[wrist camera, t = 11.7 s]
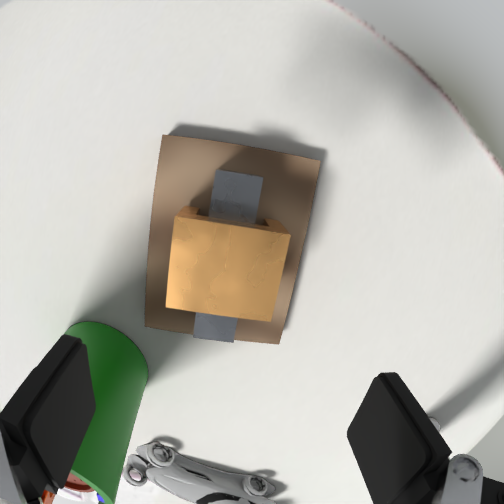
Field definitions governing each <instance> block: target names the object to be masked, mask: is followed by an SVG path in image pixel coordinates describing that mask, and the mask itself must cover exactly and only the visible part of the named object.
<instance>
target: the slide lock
mask: <svg viewBox="0 0 504 504" xmlns="http://www.w3.org/2000/svg"><path fill="white" fill-rule="evenodd" d="M199 210H200V208H198V207H192V206H184V207H183V208H182V209H181V210H180V211H179V212H178V213H177V215H176V216H175V218H174V226H173V235H172V243H171V253H170V262H169V273H168V284H167V296H166V307H168V308H174V309H180V310H186V311H193V312H199V313H206V314H213V315H220V316H228V317H235V318H243V319H251V320H259V321H268V322H271V319H272V315H273V311H274V307H275V302H276V298H277V294H278V290H279V285H280V281H281V277H282V272H283V268H284V263H285V259H286V254H287V250H288V245H289V241H290V236H291V235H290V233H289V232H288V231H287V230H286V229H285V227H284V226H283V225H282V224H281V223H280V221H278V220H272V219H267V218H264V222H263V225H257V224H251V223H245V222H239V221H232V220H226V219H220V218H213V217H207V216H201V215H199Z"/></svg>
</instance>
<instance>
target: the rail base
mask: <svg viewBox="0 0 504 504" xmlns="http://www.w3.org/2000/svg"><path fill="white" fill-rule="evenodd" d="M320 162H321V161H318V160H314V159H309V158H305V157H300V156H296V155H291V154H286V153H281V152H276V151H271V150H266V149H261V148H255V147H249V146H244V145H238V144H231V143H225V142H218V141H212V140H204V139H197V138H189V137H181V136H172V135H162V141H161V147H160V154H159V160H158V167H157V174H156V181H155V189H154V197H153V205H152V214H151V224H150V234H149V246H148V260H147V275H146V296H145V327H150V328H156V329H161V330H167V331H174V332H180V333H186V334H194V325H195V316H196V312H193V311H186V310H180V309H174V308H168V307H166V296H167V284H168V273H169V262H170V253H171V243H172V235H173V226H174V218H175V216H176V215H177V213H178V212H179V211H180V210H181V209H182V208H183V207H184V206H192V207H198V208H200V210H199V215H201V216H207V217H208V216H209V209H210V203H211V196H212V190H213V184H214V178H215V172H216V169H224V170H230V171H236V172H243V173H249V174H254V175H259V176H261V177H263V183H262V188H261V194H260V199H259V205H258V210H257V216H256V221H255V224H257V225H263V222H264V218H267V219H272V220H278V221H280V223H281V224H282V225H283V226H284V227H285V229H286V230H287V231H288V232H289V233H290V235H291V236H290V241H289V245H288V250H287V254H286V259H285V263H284V268H283V272H282V277H281V281H280V285H279V290H278V294H277V298H276V302H275V307H274V311H273V315H272V319H271V322H268V321H259V320H251V319H243V318H238V320H237V325H236V331H235V336H234V340H240V341H249V342H259V343H269V344H279V343H280V339H281V335H282V331H283V327H284V324H285V320H286V316H287V312H288V308H289V304H290V300H291V296H292V292H293V288H294V283H295V279H296V275H297V271H298V266H299V262H300V258H301V253H302V249H303V245H304V240H305V236H306V231H307V226H308V222H309V217H310V212H311V208H312V203H313V198H314V193H315V188H316V183H317V178H318V173H319V168H320Z"/></svg>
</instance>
